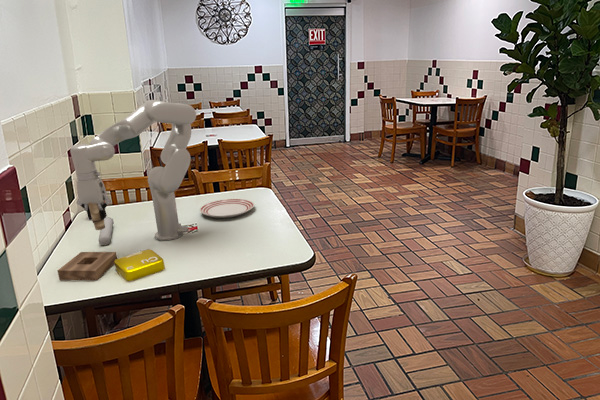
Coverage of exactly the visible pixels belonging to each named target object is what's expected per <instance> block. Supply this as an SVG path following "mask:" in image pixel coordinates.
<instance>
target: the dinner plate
mask: <svg viewBox="0 0 600 400" xmlns="http://www.w3.org/2000/svg"><path fill="white" fill-rule="evenodd" d="M254 207H255V203H254V202H252V201H251V200H248V199H245V198H225V199H219V200H213V201H209V202H207V203H205V204H203V205H202V206H200V207H199V212H200V214H203V215H204V216H207V217H211V218H216V219H228V218H234V217H238V216H241V215H243V214H245V213H248V212H249V211H251V210H252V209H253V208H254Z"/></svg>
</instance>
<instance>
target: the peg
mask: <svg viewBox="0 0 600 400" xmlns="http://www.w3.org/2000/svg"><path fill="white" fill-rule="evenodd" d="M88 206H89V209H90V213H91V217H92V221H91V222H92V223H93V227H94V230H96V231H100V230H102V229H104V228H105V224H104V219H103V220H101V218H100V213H99V211H100V209H99V207H98V204H95V203H89V204H88Z"/></svg>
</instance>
